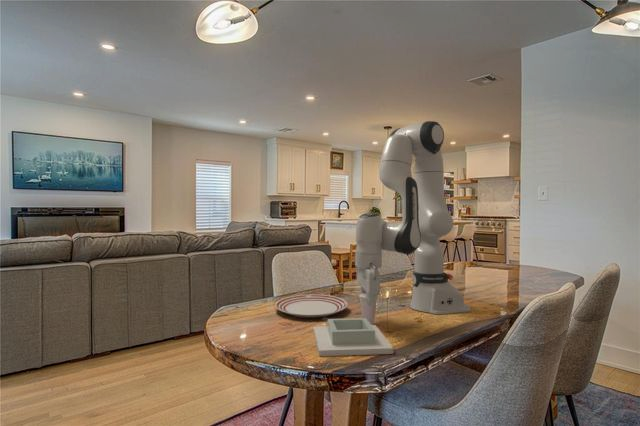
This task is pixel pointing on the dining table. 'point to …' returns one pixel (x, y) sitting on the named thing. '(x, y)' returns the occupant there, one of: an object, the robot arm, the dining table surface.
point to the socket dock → (350, 338)
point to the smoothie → (368, 308)
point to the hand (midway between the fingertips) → (367, 302)
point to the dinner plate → (311, 305)
